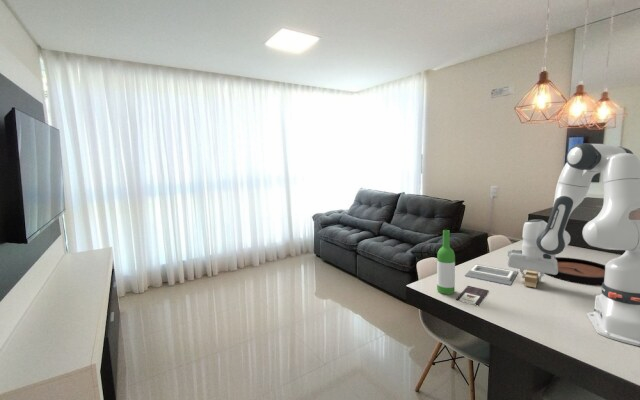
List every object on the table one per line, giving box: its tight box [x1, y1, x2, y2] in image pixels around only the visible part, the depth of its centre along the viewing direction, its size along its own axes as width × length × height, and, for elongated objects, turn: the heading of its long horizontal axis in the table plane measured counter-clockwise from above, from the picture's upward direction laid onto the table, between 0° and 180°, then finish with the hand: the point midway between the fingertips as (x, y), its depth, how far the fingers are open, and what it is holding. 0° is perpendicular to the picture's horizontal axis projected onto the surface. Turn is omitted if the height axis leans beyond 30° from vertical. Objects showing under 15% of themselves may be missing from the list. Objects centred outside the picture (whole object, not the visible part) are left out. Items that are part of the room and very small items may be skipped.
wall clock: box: [544, 256, 606, 286], centre depth 157 cm, size 31×4×31 cm
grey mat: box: [464, 263, 519, 286], centre depth 161 cm, size 22×21×2 cm
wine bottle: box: [436, 229, 456, 295], centre depth 140 cm, size 8×8×30 cm
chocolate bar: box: [455, 285, 489, 306], centre depth 137 cm, size 9×1×18 cm
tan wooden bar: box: [523, 270, 539, 288], centre depth 147 cm, size 12×4×4 cm, turn 140°
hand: (531, 279), depth 147 cm, fingers closed on tan wooden bar, 4 cm apart
